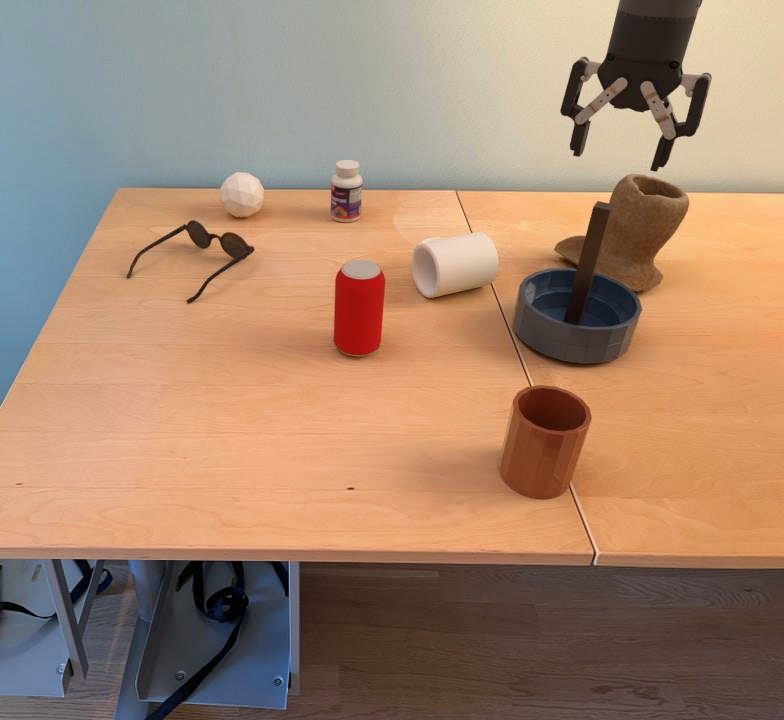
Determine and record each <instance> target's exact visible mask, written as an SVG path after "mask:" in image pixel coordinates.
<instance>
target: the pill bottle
mask: <svg viewBox="0 0 784 720" xmlns="http://www.w3.org/2000/svg"><path fill="white" fill-rule="evenodd" d="M334 171H335V174H333V175H332V177H331V182H330V217H331V218H332V220H334V221H336V222H341V223H353V222H356V221H358V220H359V219H360V218H361V214H362V200H363V199H362V198H363V195H362V194H363V177H362V176H361V174H359V173H360V164H359V162H358V161H356V160H353V159H341V160H338V161H336V163H335V170H334Z"/></svg>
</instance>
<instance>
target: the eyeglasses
mask: <svg viewBox="0 0 784 720" xmlns="http://www.w3.org/2000/svg"><path fill="white" fill-rule="evenodd" d="M184 231H186V232H187V234H188V236H189V238H190V240H191V241H192V242H193V244H194V245H196V246H197V247H198V248H200V249H203V250H206V249H208V248H210V246H211V244H212V241H213V240H214V239H217V240H218V242H219V243H220V244H219V245H220V247H221V249H222V251H224V253H226V255H228V256H229V257H230V258H232V259H233V260H231V261H230V262H228V263H227V264H225V265H224V266H222V267H221V268H220V269H218V270H217V271H215V272H214V273H212V274H211V275H210V276H209V277H208V278H207V279H206V280H205V281H204V282H203V284H201V287H200V288H199V290H198V291H197V292H196V293H195V294H194V295H193V296H192V297H189V298H188V299H187V300H186V303H187V304H191V303H193V302H195V301H196V300H198V298H199V297H200V296H201V295H202V294H203V292H204V291H205V289H206V287H207V286H208V285H209V284H210V282H212V280H213V279H215V278H217V277H218V276H219V275H221V274H222V273H224V272H226V271H227V270H229V269H230V268H231V267H233V266H234V265H236V264H238V263H240V262H241V261H243V260H245V259H247V257H249V256H250V255H251V254H252V253H254V252H255V250H256V249H255V246H253V245H249V244H248V243H247V241H246V240H245V239H244V238H243V237H242V236H240V235H239V234H238V233H235V232H231V231H227V232H224V233H223V234H222V235H221V236H220V235H218V234H217V233H209V232H208V231H207V229H206V228H205V227H204V225H203V224H202V223H200V222H199V221H197V220H194V219H191V220H189V221H188V222H187V224H185V223H184V224H183V225H181V226H179V227H177V228H176V229H174V230H172V231H171V232H169V233H167V234H165V235H164V236H162V237H160V238H159V239H157V240H155V241H153V242H152V243H151V244H149V245H147V246H145V247H144V248H143V249H141V250H140V251H139V252H138V253H137V254H136V255H135V256H134V258H133V260H132V261H131V264H130V267H129V270H128V272H127V274H126V279H130V278H131V276H132V274H133V271H134V268H135V266H136V264H137V263H138V261H139V259H140V257H141V256H142V255H143V254H144V253H146V252H148V251H150V250H151V249H153V248H155V247H157V246H159V245H160V244H162V243H164V242H166V241H167V240H169V239H171V238H173V237H175V236H177V235H178V234H181V233H182V232H184Z"/></svg>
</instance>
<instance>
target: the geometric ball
mask: <svg viewBox="0 0 784 720" xmlns="http://www.w3.org/2000/svg"><path fill="white" fill-rule="evenodd" d="M219 190H220V191H219V201H220V203H221V204H222V207H223V209H224V210H225V212H227V213H229V214H230V215H232V216H233V217H235V218H249V217H250V216H252V215H254V214H256V213H258V212H259V210H260V208H261V207H262V205H263V203H264V202H265V200H264V199H265V189H264V187H263V185H262V182H261V181H260V179H259V178H257V177H256V176H254V175H252V174H251V173H249V172H242V171H241V172H239V171H236V172H234V173H233V174H231V175H230V176H229V177H227V178H225V180H224V182H223V183H222V185H221V186H220V188H219Z"/></svg>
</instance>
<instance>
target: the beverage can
mask: <svg viewBox="0 0 784 720" xmlns="http://www.w3.org/2000/svg"><path fill="white" fill-rule="evenodd" d="M385 291H386V276H385V274H384V272H383V270H382V268H381V267H380V265H378V264H377V263H375V262H374V261H372V260H367V259H353V260H350V261H347V262H345V263H344V264H343V265H342V266H341V267H340V269H339V270H338V271H337V273H336V276H335V280H334V308H333V309H334V315H333V343H334V345H335V347H336V348H337V349H338V350H339V351H340V352H342V353H343V354H344V355H348V356H351V357H366V356H369V355H372V354H374V353H376V352H377V351H378V350H379V348H380V346H381V343H382V330H383V320H384V319H383V318H384V307H385V306H384V305H385Z"/></svg>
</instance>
